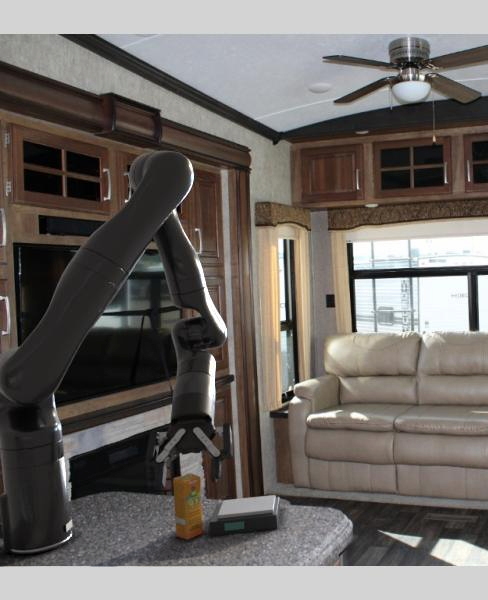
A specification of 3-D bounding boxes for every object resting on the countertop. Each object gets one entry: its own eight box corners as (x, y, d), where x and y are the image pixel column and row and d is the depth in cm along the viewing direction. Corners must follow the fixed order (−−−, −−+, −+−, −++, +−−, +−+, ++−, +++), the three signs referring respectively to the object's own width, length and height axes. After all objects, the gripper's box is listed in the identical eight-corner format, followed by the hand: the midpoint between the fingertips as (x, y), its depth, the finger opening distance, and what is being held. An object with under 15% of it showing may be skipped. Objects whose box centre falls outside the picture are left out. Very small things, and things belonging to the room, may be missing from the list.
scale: (210, 536, 111) (208, 519, 111) (218, 516, 120) (216, 500, 120) (277, 529, 113) (276, 511, 113) (280, 509, 122) (278, 493, 122)
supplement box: (188, 540, 110) (183, 481, 110) (175, 536, 112) (171, 477, 112) (205, 533, 113) (200, 475, 112) (192, 529, 115) (188, 472, 114)
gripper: (149, 394, 120) (138, 477, 109) (230, 387, 122) (227, 468, 111) (158, 417, 126) (149, 497, 115) (236, 409, 127) (233, 488, 117)
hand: (187, 483), depth 113 cm, fingers open, 8 cm apart
